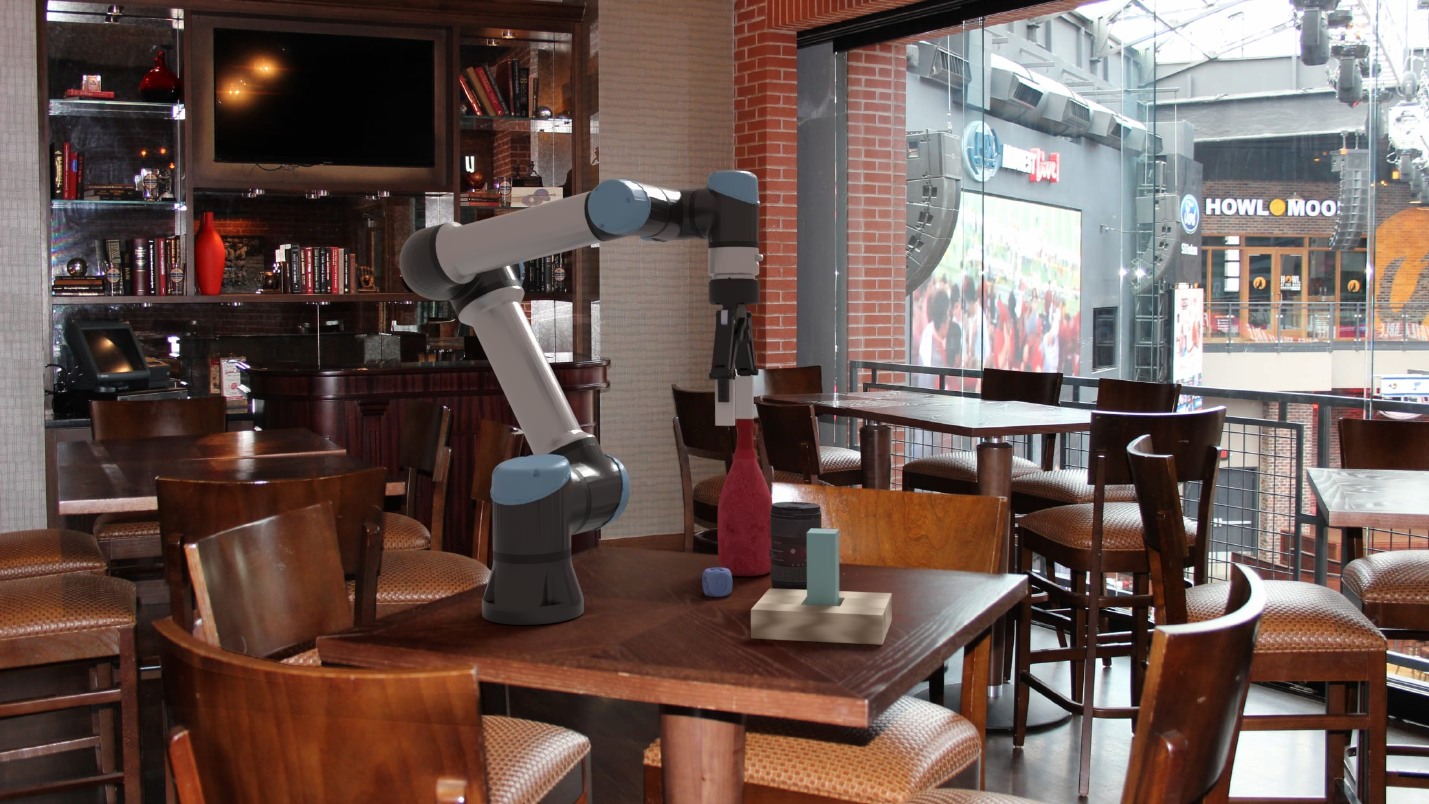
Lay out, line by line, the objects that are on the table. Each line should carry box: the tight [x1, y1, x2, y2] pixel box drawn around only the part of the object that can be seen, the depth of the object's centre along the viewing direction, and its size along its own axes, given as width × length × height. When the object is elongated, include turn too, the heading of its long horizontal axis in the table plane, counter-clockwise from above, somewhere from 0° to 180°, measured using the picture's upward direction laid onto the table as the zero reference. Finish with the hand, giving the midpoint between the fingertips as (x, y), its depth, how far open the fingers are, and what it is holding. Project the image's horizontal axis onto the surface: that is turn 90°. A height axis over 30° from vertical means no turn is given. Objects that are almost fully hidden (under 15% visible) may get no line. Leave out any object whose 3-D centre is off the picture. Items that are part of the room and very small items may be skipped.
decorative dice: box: [701, 567, 733, 598], centre depth 197 cm, size 4×4×4 cm
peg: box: [807, 528, 840, 606], centre depth 173 cm, size 4×4×14 cm
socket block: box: [750, 588, 893, 645], centre depth 173 cm, size 18×14×4 cm
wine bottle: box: [717, 419, 774, 577], centre depth 214 cm, size 10×10×30 cm
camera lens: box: [769, 501, 823, 590], centre depth 193 cm, size 8×8×15 cm
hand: (735, 422), depth 182 cm, fingers open, 13 cm apart
